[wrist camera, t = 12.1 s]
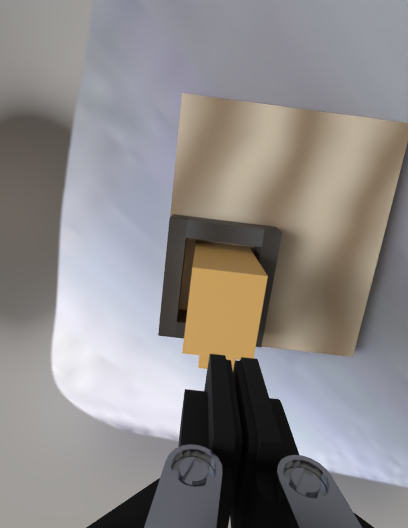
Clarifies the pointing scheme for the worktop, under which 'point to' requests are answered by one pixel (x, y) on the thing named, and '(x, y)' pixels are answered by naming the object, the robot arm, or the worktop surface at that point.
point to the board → (284, 212)
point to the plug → (224, 302)
